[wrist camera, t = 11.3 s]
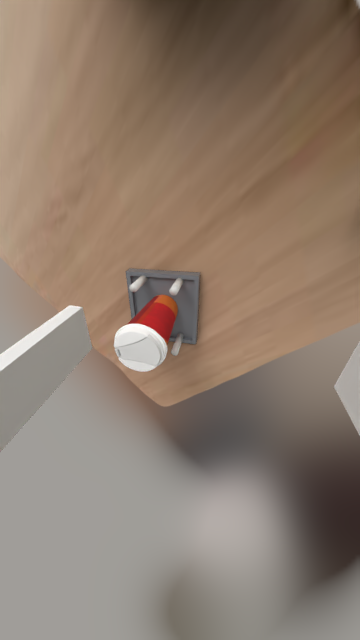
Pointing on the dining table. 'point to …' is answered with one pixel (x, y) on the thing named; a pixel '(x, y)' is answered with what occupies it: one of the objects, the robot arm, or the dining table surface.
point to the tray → (175, 286)
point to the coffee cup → (147, 335)
